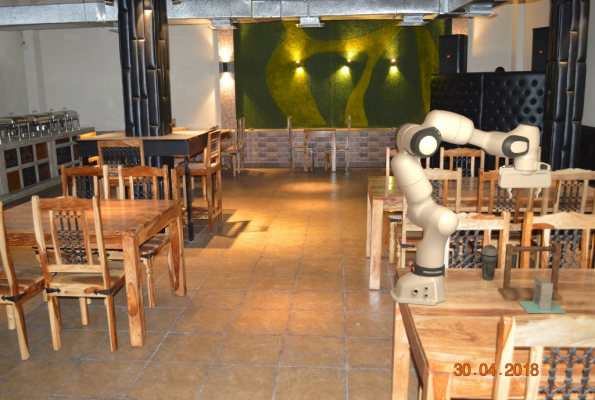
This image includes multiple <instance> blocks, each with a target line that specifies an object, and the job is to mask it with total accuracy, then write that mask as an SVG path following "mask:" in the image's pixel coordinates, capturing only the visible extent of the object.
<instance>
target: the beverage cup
mask: <svg viewBox="0 0 595 400" xmlns="http://www.w3.org/2000/svg"><path fill="white" fill-rule="evenodd" d="M489 239H490V238H489V234H487V244H486V245H484V246H483V247H482V248H481V252H480V257H481V272H482V273H481V274H482V277H481V278H482V280H484V281H493V280H494V277H495V273H496V266H497V260H498V257H499V251H498V248H497V247H495V245H493V244H490V240H489Z"/></svg>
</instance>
